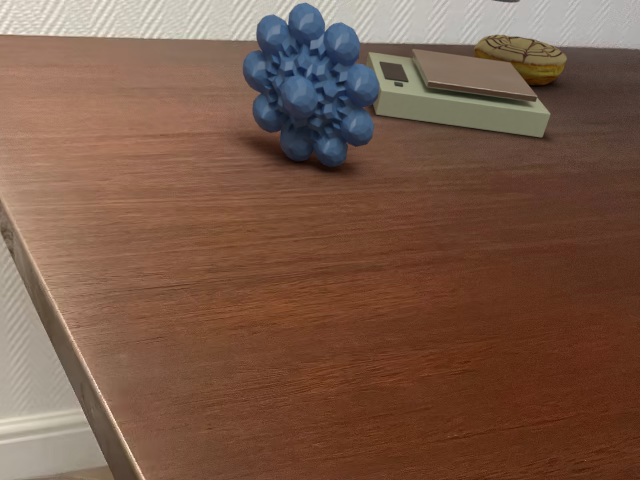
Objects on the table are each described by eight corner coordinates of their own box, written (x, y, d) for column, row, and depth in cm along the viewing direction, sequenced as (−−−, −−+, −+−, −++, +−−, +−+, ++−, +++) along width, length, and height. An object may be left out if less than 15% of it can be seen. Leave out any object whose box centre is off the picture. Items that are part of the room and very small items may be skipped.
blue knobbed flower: (213, 158, 66) (230, -1, 59) (244, 135, 71) (263, -14, 64) (348, 196, 63) (383, 34, 56) (370, 169, 69) (405, 17, 61)
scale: (510, 94, 92) (518, 71, 91) (542, 137, 81) (551, 111, 80) (364, 73, 91) (369, 49, 90) (375, 114, 80) (381, 88, 79)
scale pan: (508, 68, 90) (510, 62, 89) (535, 102, 80) (537, 96, 80) (410, 54, 89) (412, 48, 89) (426, 87, 80) (428, 80, 79)
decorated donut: (511, 60, 105) (521, 29, 103) (575, 86, 99) (587, 54, 96) (453, 62, 100) (462, 30, 98) (517, 90, 94) (528, 56, 91)
